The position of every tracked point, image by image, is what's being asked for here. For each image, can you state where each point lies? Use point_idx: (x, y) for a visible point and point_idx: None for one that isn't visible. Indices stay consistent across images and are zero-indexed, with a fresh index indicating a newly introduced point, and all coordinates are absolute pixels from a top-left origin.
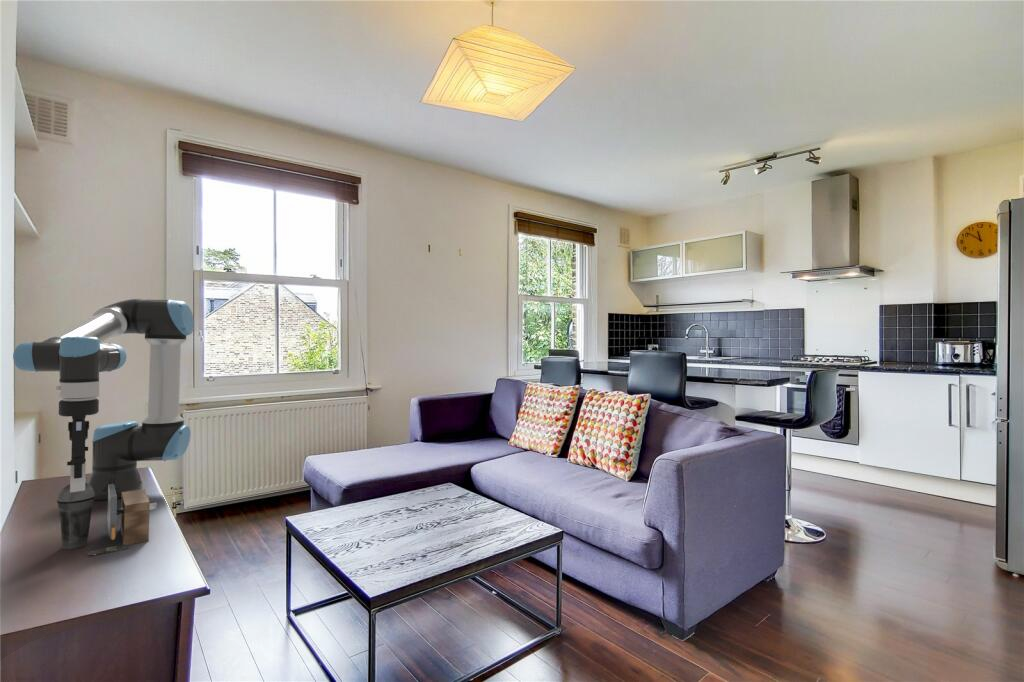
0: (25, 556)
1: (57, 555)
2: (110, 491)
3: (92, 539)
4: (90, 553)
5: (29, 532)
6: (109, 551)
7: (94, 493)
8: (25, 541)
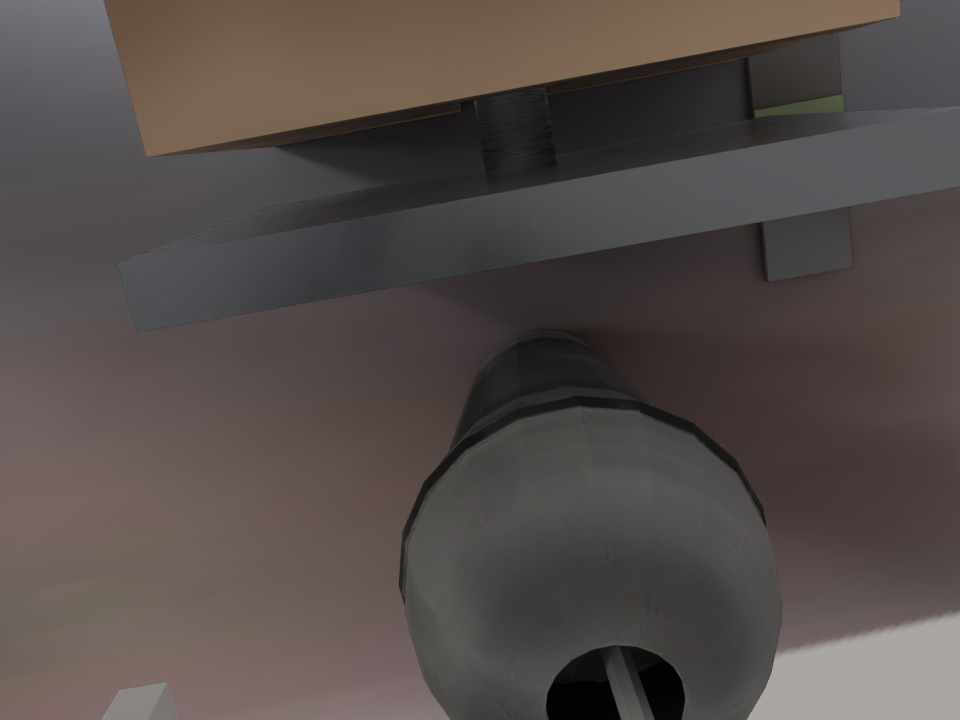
0: None
1: None
2: (607, 239)
3: (448, 308)
4: (820, 262)
5: (92, 713)
6: None
7: (590, 422)
8: (292, 689)
